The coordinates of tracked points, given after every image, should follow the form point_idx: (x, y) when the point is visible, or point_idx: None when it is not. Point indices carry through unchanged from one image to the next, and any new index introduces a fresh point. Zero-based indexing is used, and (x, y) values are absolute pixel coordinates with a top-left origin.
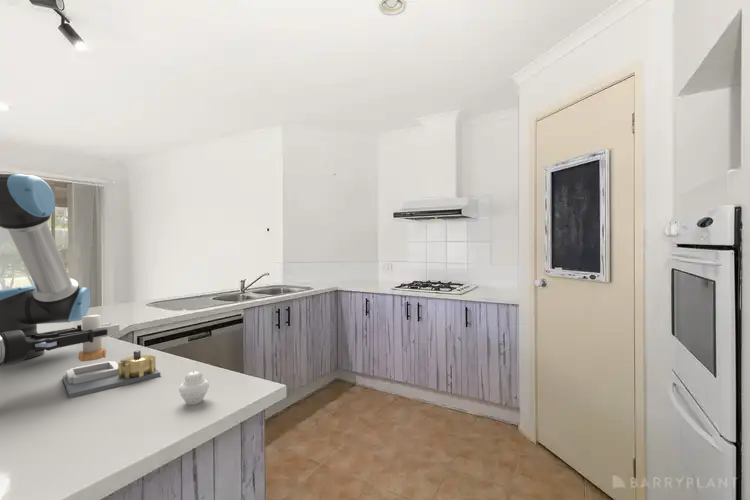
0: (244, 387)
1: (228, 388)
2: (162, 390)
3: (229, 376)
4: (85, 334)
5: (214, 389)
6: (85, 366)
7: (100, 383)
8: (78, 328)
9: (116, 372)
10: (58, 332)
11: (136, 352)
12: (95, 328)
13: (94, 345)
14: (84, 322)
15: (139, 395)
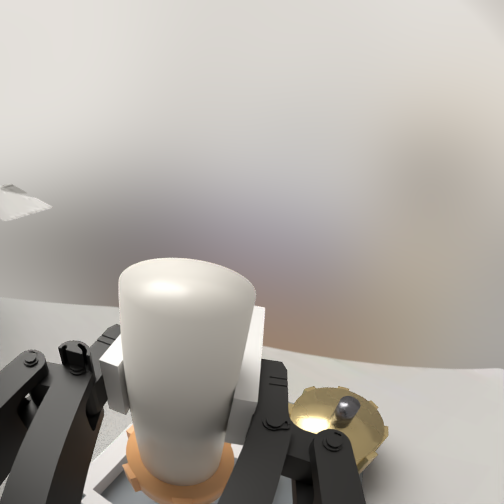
0: (497, 387)
1: (493, 397)
2: (455, 455)
3: (451, 377)
4: (353, 482)
5: (490, 408)
6: (112, 461)
7: None
8: (82, 374)
9: None
10: (36, 494)
11: (358, 408)
12: (253, 383)
13: (221, 450)
14: (189, 365)
15: (455, 489)
